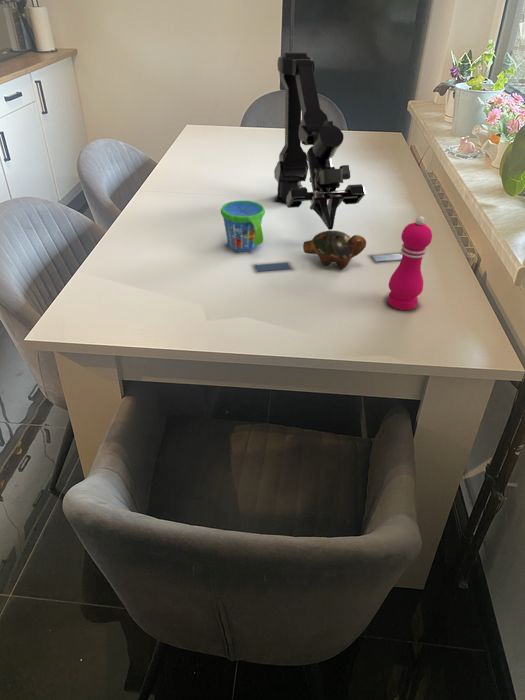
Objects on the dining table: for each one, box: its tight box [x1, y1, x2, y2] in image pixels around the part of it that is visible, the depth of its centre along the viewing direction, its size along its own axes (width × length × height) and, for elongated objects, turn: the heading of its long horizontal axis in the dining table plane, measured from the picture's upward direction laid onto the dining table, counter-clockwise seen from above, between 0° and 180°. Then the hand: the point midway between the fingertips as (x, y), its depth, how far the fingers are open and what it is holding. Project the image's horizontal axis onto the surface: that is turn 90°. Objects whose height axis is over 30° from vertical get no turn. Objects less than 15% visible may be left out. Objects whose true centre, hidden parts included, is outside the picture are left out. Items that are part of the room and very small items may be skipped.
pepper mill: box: [387, 215, 433, 311], centre depth 113 cm, size 7×7×20 cm
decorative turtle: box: [302, 230, 367, 270], centre depth 131 cm, size 10×15×8 cm, turn 80°
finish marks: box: [255, 253, 402, 273], centre depth 133 cm, size 3×38×1 cm, turn 103°
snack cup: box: [220, 200, 266, 252], centre depth 136 cm, size 16×10×10 cm
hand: (330, 229), depth 131 cm, fingers closed, pressing on decorative turtle
